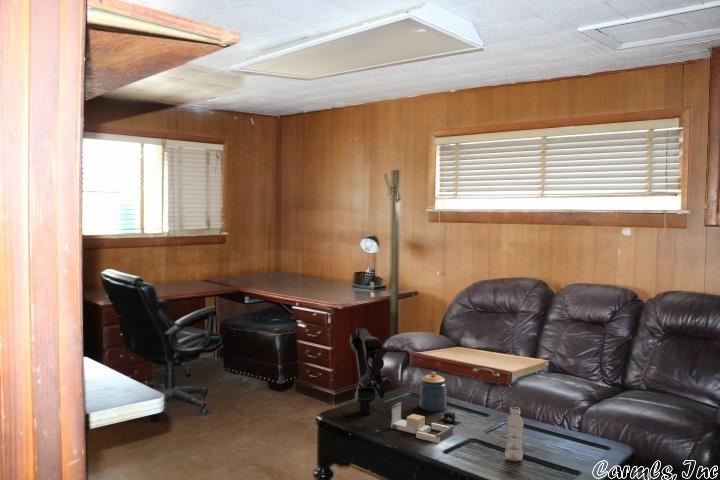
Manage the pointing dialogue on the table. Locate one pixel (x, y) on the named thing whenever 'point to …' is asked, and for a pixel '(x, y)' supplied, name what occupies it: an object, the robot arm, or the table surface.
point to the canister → (433, 393)
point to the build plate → (449, 421)
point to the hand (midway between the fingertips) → (382, 398)
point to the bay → (439, 437)
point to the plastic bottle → (514, 435)
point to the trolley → (408, 421)
